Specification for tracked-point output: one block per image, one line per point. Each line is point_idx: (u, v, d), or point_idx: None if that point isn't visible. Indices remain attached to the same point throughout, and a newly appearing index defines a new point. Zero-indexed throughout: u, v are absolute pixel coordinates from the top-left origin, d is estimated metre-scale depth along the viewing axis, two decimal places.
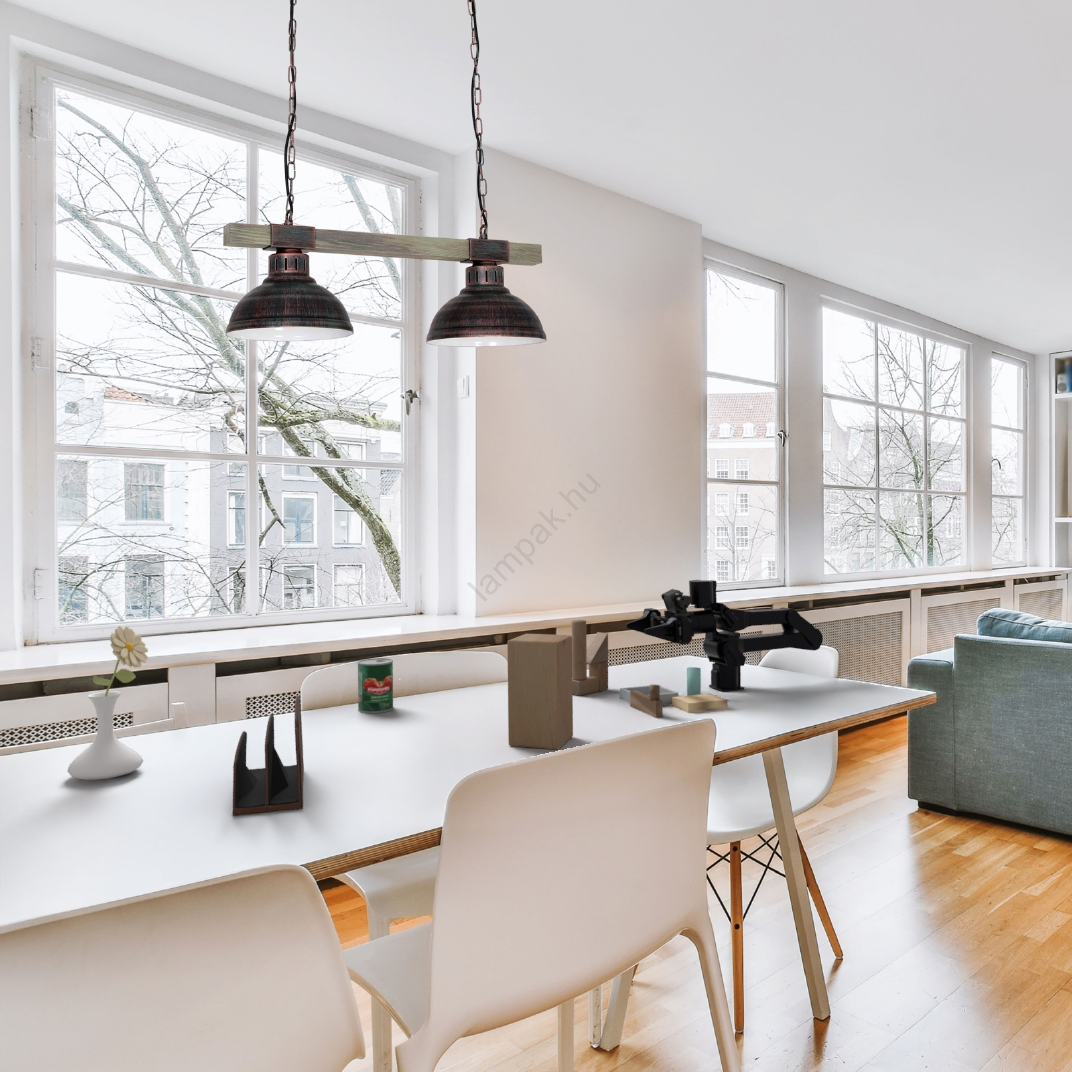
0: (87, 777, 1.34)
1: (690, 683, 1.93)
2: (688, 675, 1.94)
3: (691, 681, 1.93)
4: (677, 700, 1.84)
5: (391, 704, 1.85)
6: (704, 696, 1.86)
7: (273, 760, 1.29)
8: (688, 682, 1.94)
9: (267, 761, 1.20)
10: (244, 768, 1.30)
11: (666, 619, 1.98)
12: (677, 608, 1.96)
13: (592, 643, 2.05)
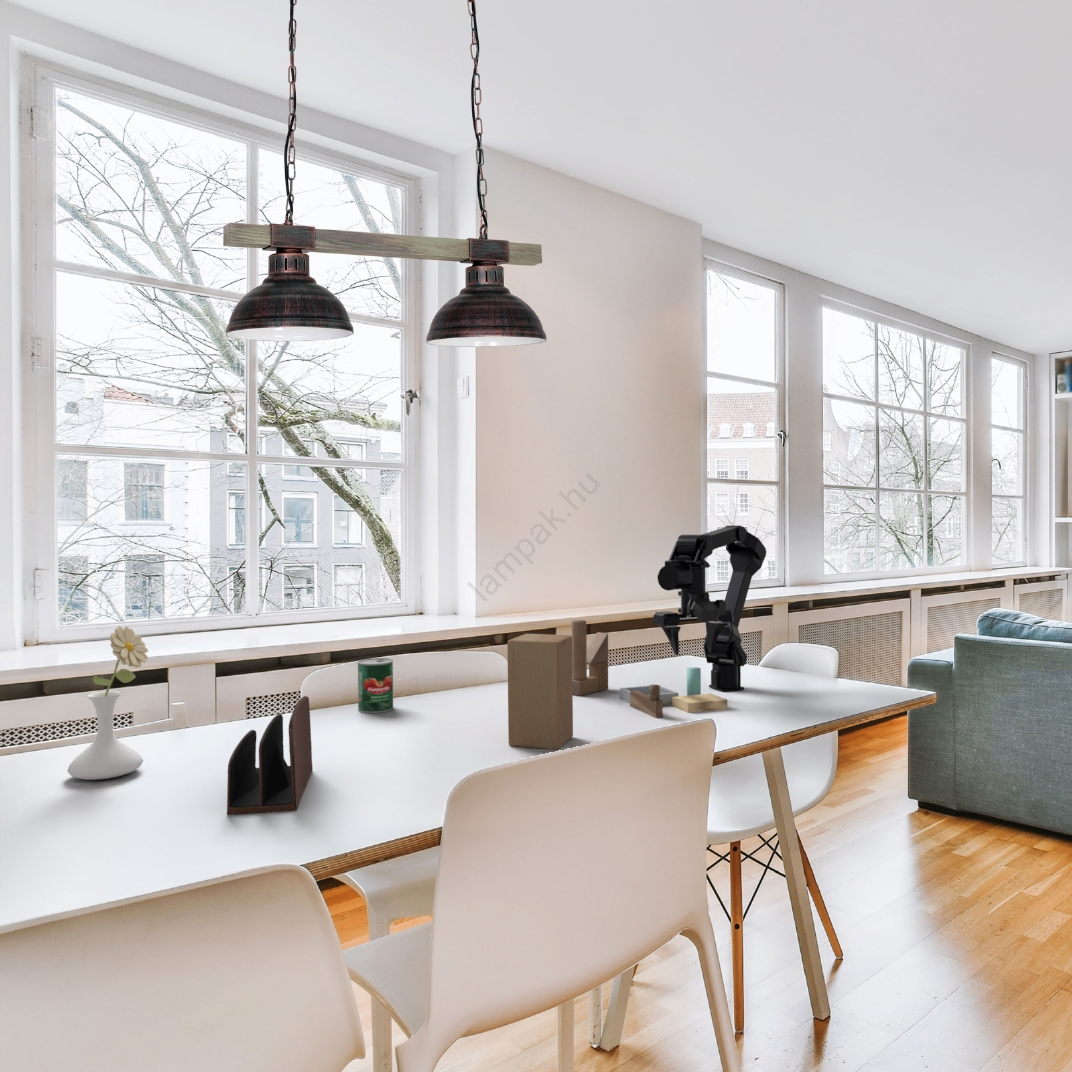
0: (87, 777, 1.34)
1: (690, 683, 1.93)
2: (688, 675, 1.94)
3: (691, 681, 1.93)
4: (677, 700, 1.84)
5: (391, 704, 1.85)
6: (704, 696, 1.86)
7: (275, 760, 1.29)
8: (688, 682, 1.94)
9: (260, 762, 1.20)
10: (248, 767, 1.31)
11: (696, 618, 1.93)
12: None
13: (592, 643, 2.05)
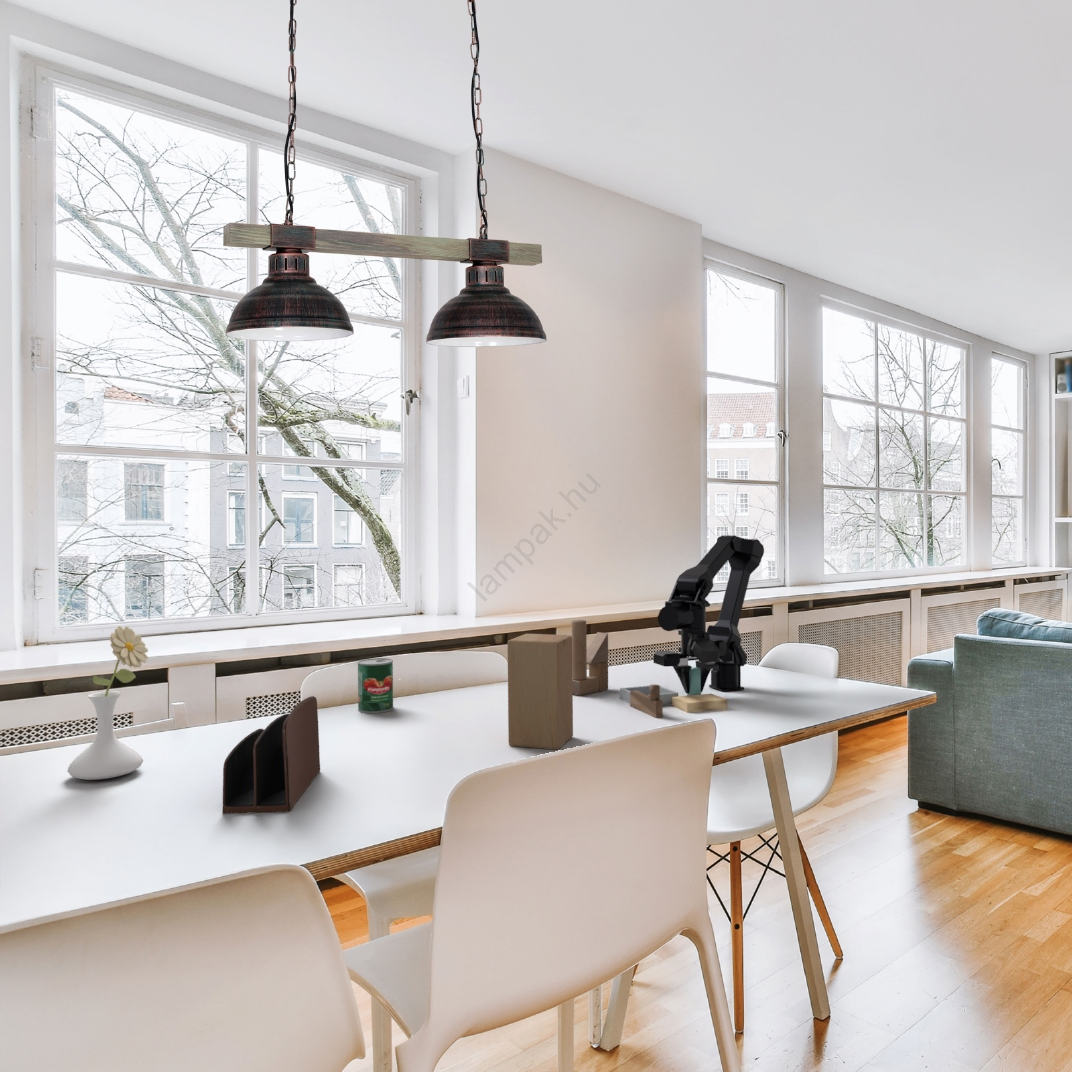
0: (87, 777, 1.34)
1: (690, 683, 1.93)
2: None
3: (691, 681, 1.93)
4: (677, 700, 1.84)
5: (391, 704, 1.85)
6: (704, 696, 1.86)
7: (276, 760, 1.30)
8: None
9: (255, 762, 1.20)
10: (251, 766, 1.31)
11: None
12: None
13: (592, 643, 2.05)
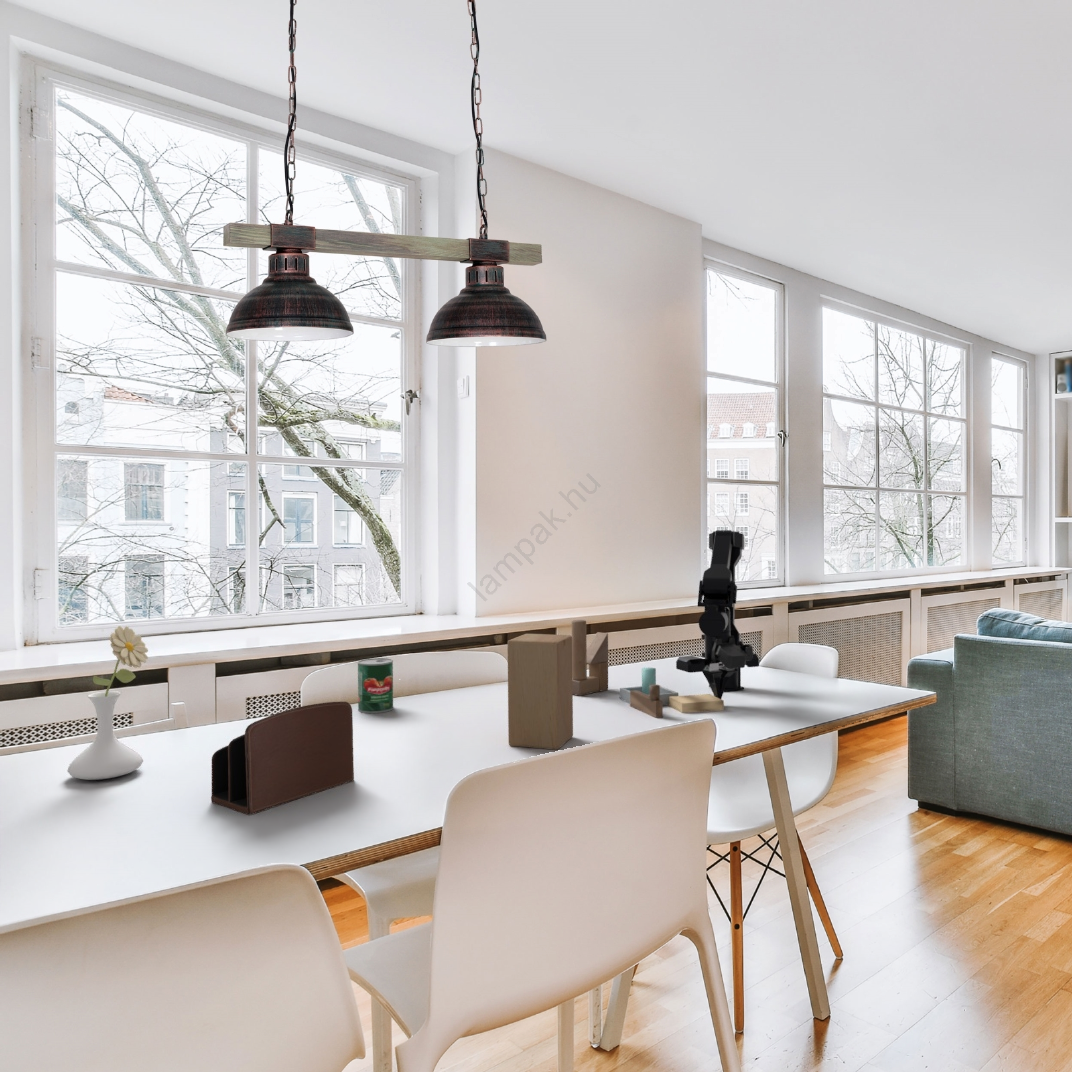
0: (87, 777, 1.34)
1: (645, 683, 1.90)
2: (643, 675, 1.90)
3: (646, 681, 1.90)
4: (673, 700, 1.84)
5: (391, 704, 1.85)
6: (702, 696, 1.86)
7: None
8: (643, 682, 1.91)
9: (228, 758, 1.22)
10: None
11: None
12: None
13: (592, 643, 2.05)
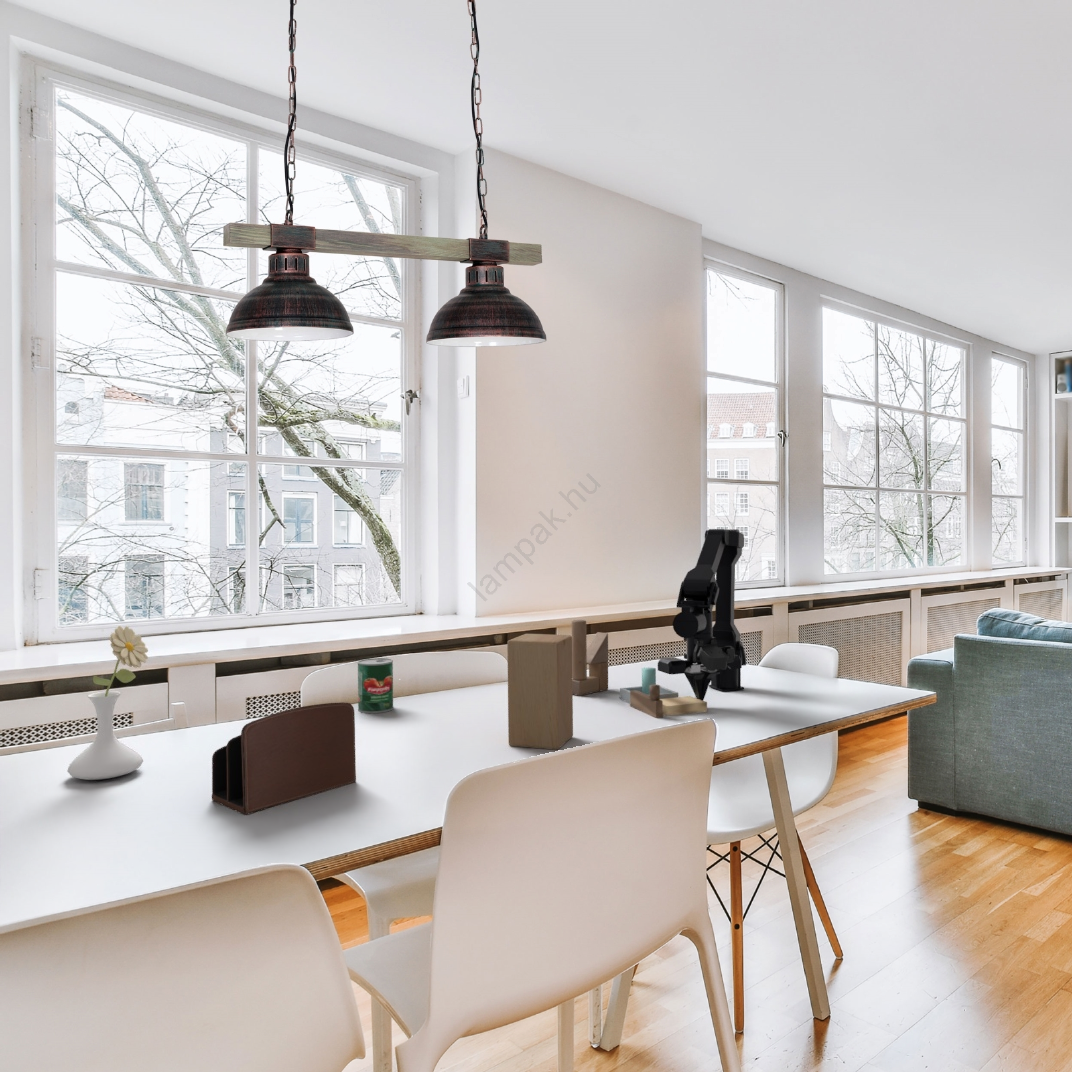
0: (87, 777, 1.34)
1: (645, 683, 1.90)
2: (643, 675, 1.90)
3: (646, 681, 1.90)
4: None
5: (391, 704, 1.85)
6: (684, 699, 1.84)
7: None
8: (643, 682, 1.91)
9: (227, 757, 1.22)
10: None
11: None
12: None
13: (592, 643, 2.05)
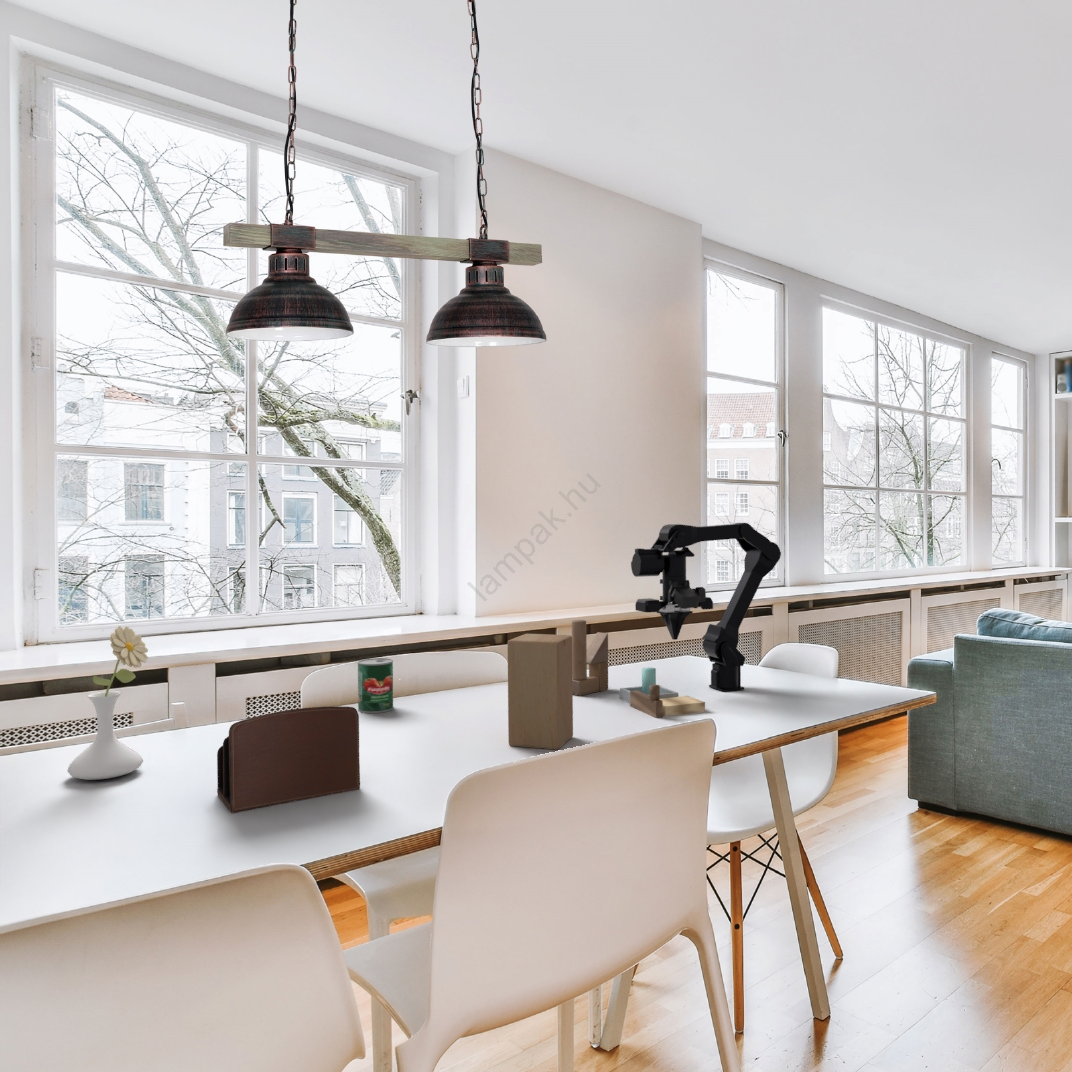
0: (87, 777, 1.34)
1: (645, 683, 1.90)
2: (643, 675, 1.90)
3: (646, 681, 1.90)
4: None
5: (391, 704, 1.85)
6: (681, 699, 1.84)
7: None
8: (643, 682, 1.91)
9: (223, 754, 1.24)
10: None
11: None
12: None
13: (592, 643, 2.05)
